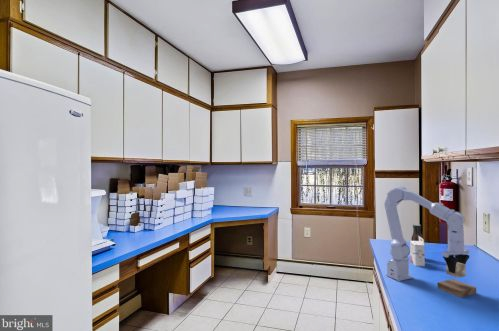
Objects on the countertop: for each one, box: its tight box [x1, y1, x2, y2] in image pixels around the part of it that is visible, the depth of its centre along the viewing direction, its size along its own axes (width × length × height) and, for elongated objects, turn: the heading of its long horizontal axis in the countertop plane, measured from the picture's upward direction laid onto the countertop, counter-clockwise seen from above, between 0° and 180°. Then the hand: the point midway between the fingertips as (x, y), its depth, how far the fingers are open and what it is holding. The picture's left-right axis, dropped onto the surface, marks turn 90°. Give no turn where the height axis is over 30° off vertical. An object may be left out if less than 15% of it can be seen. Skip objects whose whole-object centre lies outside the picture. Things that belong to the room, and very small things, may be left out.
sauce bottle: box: [410, 223, 424, 241], centre depth 170 cm, size 6×6×20 cm
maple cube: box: [445, 262, 467, 279], centre depth 127 cm, size 5×5×5 cm
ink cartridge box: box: [409, 236, 426, 267], centre depth 161 cm, size 9×5×15 cm, turn 168°
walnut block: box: [437, 278, 477, 299], centre depth 127 cm, size 10×10×3 cm
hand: (456, 271), depth 127 cm, fingers closed on maple cube, 5 cm apart
